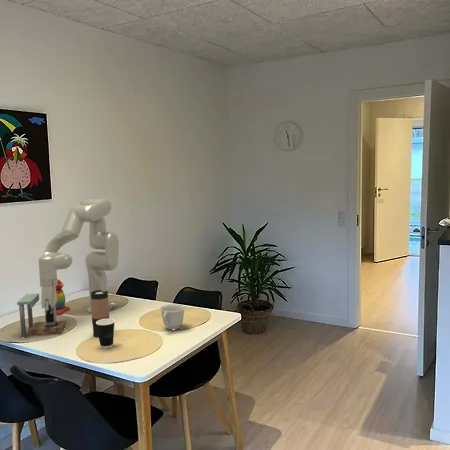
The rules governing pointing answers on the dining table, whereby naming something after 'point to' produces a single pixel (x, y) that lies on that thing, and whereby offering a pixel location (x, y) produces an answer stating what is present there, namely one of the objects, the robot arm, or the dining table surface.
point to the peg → (53, 317)
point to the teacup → (172, 315)
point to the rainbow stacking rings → (60, 299)
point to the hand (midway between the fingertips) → (51, 320)
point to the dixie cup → (106, 332)
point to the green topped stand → (30, 301)
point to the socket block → (47, 328)
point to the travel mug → (99, 308)
